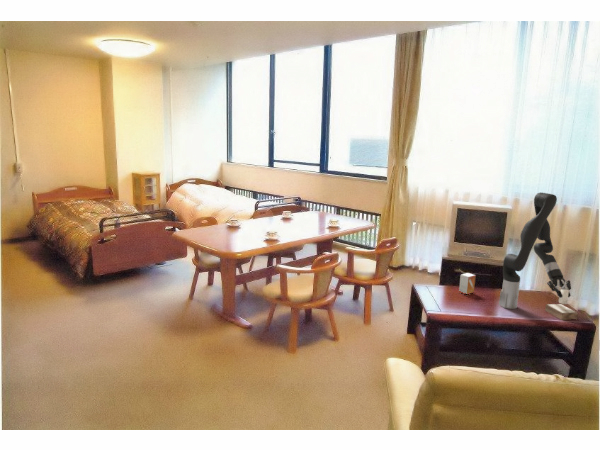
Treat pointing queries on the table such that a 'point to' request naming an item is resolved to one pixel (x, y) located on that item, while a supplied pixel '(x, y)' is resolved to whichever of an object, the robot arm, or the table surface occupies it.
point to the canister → (564, 296)
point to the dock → (561, 311)
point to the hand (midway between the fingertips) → (565, 296)
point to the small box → (467, 283)
